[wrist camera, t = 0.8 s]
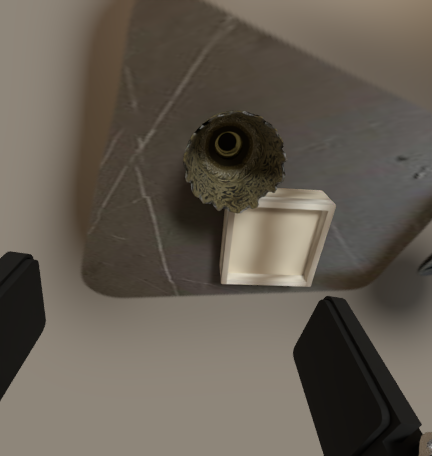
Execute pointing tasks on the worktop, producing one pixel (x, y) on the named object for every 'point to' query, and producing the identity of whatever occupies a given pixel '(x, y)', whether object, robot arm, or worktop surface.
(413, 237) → the worktop surface
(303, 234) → the birch tray
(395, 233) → the worktop surface
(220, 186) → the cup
